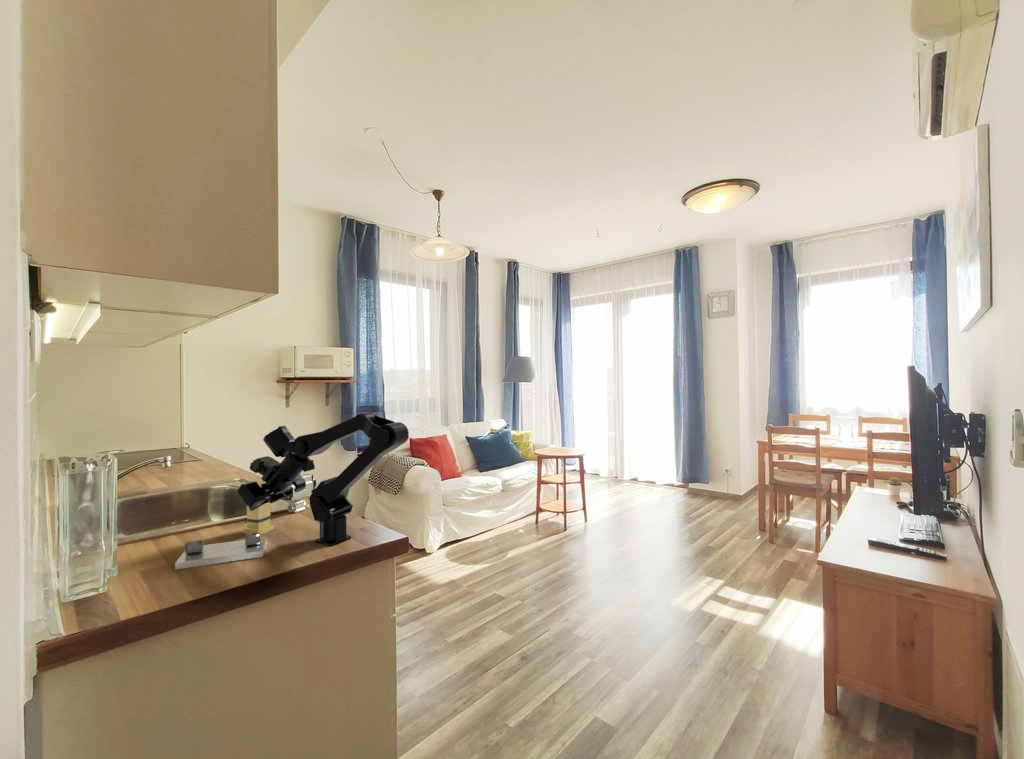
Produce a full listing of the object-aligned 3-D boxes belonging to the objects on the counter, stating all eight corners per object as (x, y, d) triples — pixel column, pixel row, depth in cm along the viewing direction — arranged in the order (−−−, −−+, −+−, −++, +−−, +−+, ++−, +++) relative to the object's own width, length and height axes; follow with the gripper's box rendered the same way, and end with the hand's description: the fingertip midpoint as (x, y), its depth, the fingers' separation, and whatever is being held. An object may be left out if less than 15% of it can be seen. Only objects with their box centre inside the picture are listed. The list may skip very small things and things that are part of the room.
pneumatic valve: (275, 515, 138) (274, 476, 138) (306, 505, 149) (306, 469, 148) (288, 517, 136) (287, 478, 136) (318, 507, 146) (318, 470, 146)
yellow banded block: (273, 529, 126) (273, 493, 125) (258, 535, 121) (258, 498, 120) (259, 527, 127) (258, 492, 127) (243, 533, 122) (243, 496, 122)
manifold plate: (267, 542, 115) (267, 526, 115) (262, 557, 106) (262, 539, 106) (187, 553, 108) (187, 535, 108) (175, 569, 99) (175, 550, 99)
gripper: (297, 442, 131) (267, 478, 134) (242, 453, 113) (209, 493, 117) (320, 471, 129) (289, 506, 132) (267, 486, 111) (233, 526, 114)
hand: (257, 507), depth 124 cm, fingers closed on yellow banded block, 4 cm apart
